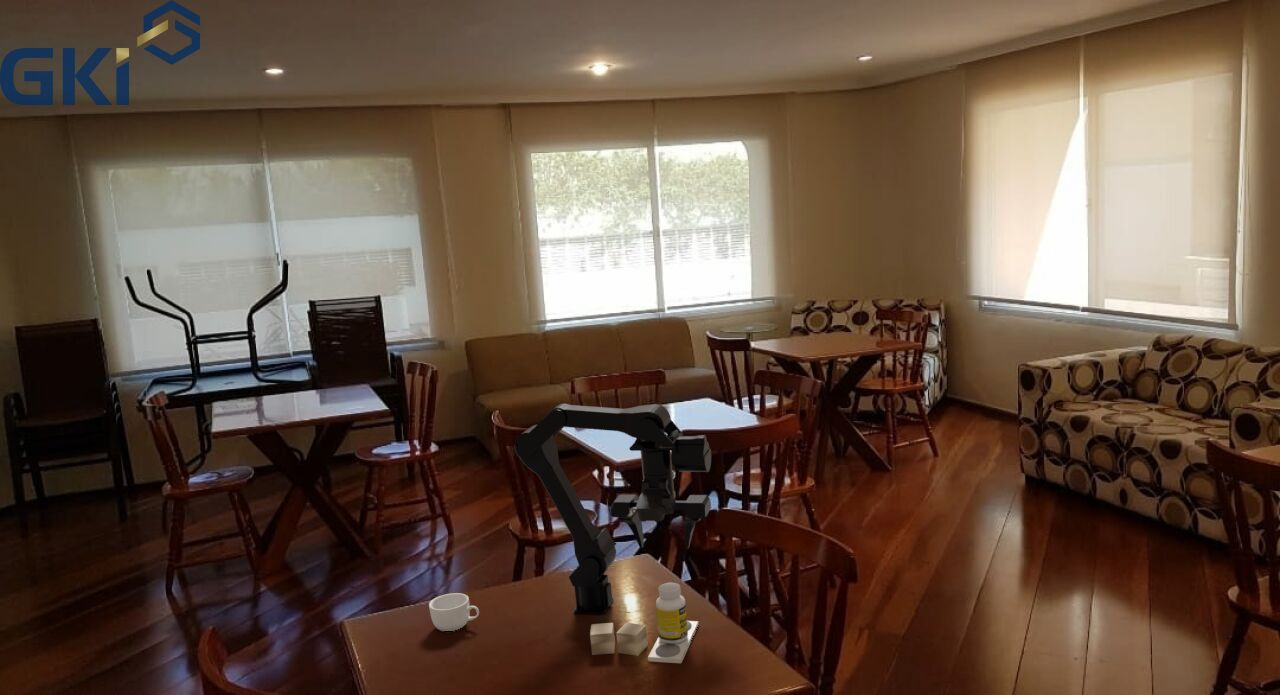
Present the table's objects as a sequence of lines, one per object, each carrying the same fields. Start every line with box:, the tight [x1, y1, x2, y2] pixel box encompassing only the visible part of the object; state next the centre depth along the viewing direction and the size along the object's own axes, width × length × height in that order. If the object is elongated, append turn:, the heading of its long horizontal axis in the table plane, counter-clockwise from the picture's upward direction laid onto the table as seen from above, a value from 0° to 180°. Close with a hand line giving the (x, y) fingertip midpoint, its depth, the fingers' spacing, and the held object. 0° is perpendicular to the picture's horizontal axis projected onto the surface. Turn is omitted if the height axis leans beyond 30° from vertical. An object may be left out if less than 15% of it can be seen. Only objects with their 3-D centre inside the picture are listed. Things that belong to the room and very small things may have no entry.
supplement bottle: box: [655, 582, 688, 643], centre depth 164 cm, size 5×5×10 cm
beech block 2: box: [615, 622, 649, 657], centre depth 164 cm, size 4×4×4 cm
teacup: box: [428, 592, 480, 632], centre depth 179 cm, size 10×8×5 cm
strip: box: [647, 620, 699, 664], centre depth 165 cm, size 6×14×1 cm, turn 163°
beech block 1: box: [589, 622, 616, 656], centre depth 165 cm, size 4×4×4 cm
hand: (664, 548), depth 176 cm, fingers open, 9 cm apart
